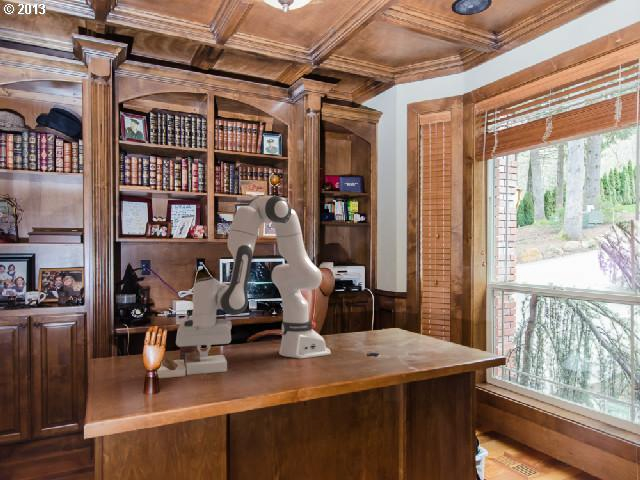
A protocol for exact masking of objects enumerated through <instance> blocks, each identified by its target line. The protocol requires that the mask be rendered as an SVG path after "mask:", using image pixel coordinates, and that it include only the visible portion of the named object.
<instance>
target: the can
mask: <svg viewBox="0 0 640 480" xmlns="http://www.w3.org/2000/svg"><path fill="white" fill-rule="evenodd" d="M196 351H197V346H182V347H179V360H184V364H185V358H186V353H197V352H196Z"/></svg>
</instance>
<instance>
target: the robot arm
mask: <svg viewBox="0 0 640 480" xmlns="http://www.w3.org/2000/svg"><path fill="white" fill-rule="evenodd" d="M263 223H264V224H271V223H272V224H273V227H274V230H275V238H276V243H277V249H278V252H279V255H280V256H281V257H283V258H284V259H285V261H286V262H287V263H282V264H278V265H276V266H274V268H273V269H272V271H271V281H272V283H273V284H274V285H275V286H276V288H277V289H278V291H279V293H280V297H281V302H282V312H283V313H282V322H281V334H282V335H281V336H282V337H281V344H280V349H279V351H278V354H279V355H280V356H283V357H288V358H295V359H301V360H302V359H308V358H316V357H322V356H328V355H331V354H332V353H331V349H330V348H328V347H327V346H326V341H325V339H324V337H323V336H321V335H320V334H319V333H318V332H317V331H315V330H314V329H315V328H316V326H317V324H316V323H315V322H313V321H310V320H309V307H310V306H309V303H308V300H307V299H305V297H304V296H303V295H302V294H303V293H302V291H312V290H317V289H318V288H319V287H320V286H321V284H322V281H323V275H322V272H321V270H320V268H318V267H317V266H316V265H315V264H314V263H313V262H312V260H311V259H310V257H309V255H308V253H307V251H306V248H305V243H304V239H303V234H302V233H303V232H302V229H301V228H302V227H301V224H300V220H299V217H298V214H297V212H296V210H294V208H291V206H290V204H289V202H288V200H287V199H286V198H285V197H282V196H280V195H264V196H257V197H255V198H253V199H250V201H249V202H248V203H247V204H246V205H243V206H240V207H239V208H238V209H237V210H236V212H235V214H234V217H233V218H232V222H231V225H230V228H229V232H228V236H227V248H228V251H229V252H230V254H231V256H232V259H233V268H232V271H231V278H230V282H229V284H226V283H224V282H221V281H220V280H218V279H216V278H215V277H213V276H207V277H202V278H199V279H197V280H195V282H194V283H193V289H192V305H193V309H192V313H191V315H189V316H187V317H184V318H181V319H180V321H179V326H178V328H177V332H176V338H175V339H176V340H175V344H176V346H177V348H178V347H179V348H180V347H182V346H196V350H197V352H199V353H200V357H208V356H209V355H208V354H209V352H210V349H211V347H212V345H214V346H215V345H227V344H230V343H231V341H232V335H231V333H232V332H231V330H232V327H233V326H232V321H231V320H229V319H228V318H225V319H221V318H220V319H217V310H222V311H224V312H225V313H226V314H227V315H229V316H237V315H240V314H241V313H243V312H245V310H246V309H247V307H248V305H249V294H248V284H249V278H250V272H251V267H252V260H253V257H254V256H253V255H254V251H255V246H256V243H257V242H256V241H257V239H258V235H259V229H260V227H261V225H262V224H263ZM313 328H314V329H313ZM202 346H206V349H205V351H202V350H201V349H202Z"/></svg>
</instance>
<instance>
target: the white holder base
mask: <svg viewBox="0 0 640 480" xmlns="http://www.w3.org/2000/svg"><path fill="white" fill-rule="evenodd" d="M184 364H185V369H186V373H185V375H187V376H188V375H199V374H211V373H213V374H214V373H222V372H223V373H224V372H228V361H227V359H226V357H225V355H224V354H215V355H214V354H213V355H208V357H200V362H189V363H186V360H185V363H184Z"/></svg>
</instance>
